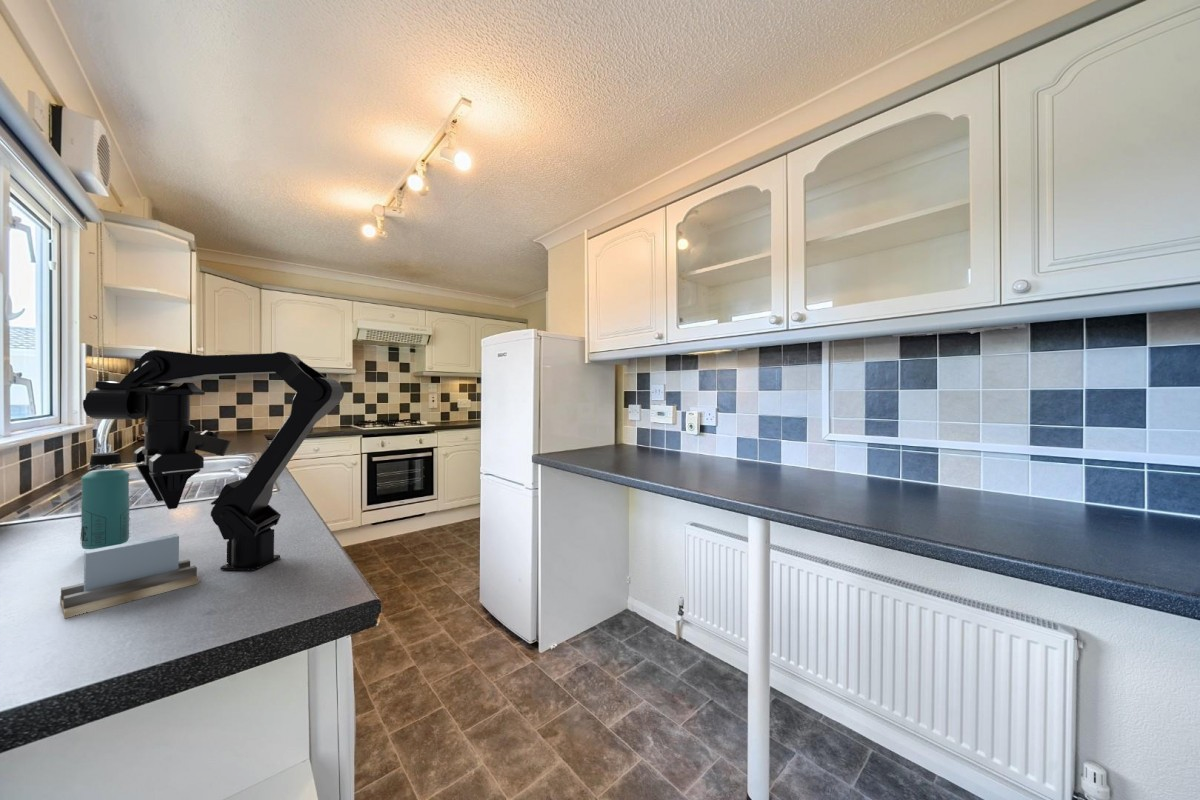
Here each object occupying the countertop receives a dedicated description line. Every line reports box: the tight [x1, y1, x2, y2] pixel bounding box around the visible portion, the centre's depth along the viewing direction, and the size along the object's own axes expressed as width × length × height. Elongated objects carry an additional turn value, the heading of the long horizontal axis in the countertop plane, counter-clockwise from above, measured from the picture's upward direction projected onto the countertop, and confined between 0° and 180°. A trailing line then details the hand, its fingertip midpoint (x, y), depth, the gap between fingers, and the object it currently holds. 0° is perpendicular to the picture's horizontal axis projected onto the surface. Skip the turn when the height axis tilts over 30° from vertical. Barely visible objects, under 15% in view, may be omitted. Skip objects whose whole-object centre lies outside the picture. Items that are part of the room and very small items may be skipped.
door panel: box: [83, 533, 180, 591], centre depth 67 cm, size 10×2×7 cm, turn 145°
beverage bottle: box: [79, 452, 131, 550], centre depth 83 cm, size 6×7×20 cm
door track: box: [59, 558, 200, 619], centre depth 67 cm, size 14×8×2 cm, turn 146°
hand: (166, 504), depth 75 cm, fingers open, 9 cm apart
